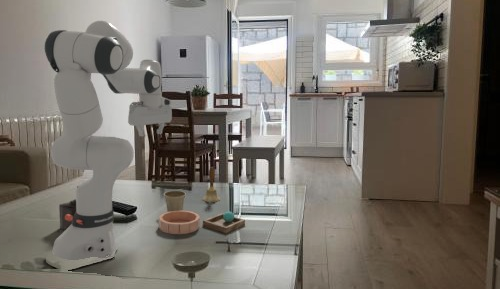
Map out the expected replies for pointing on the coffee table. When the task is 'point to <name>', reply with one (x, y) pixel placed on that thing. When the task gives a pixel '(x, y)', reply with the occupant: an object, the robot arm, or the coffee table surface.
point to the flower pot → (174, 200)
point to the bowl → (179, 222)
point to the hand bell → (211, 189)
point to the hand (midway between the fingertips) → (150, 134)
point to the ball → (228, 216)
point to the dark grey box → (67, 209)
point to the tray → (223, 223)
